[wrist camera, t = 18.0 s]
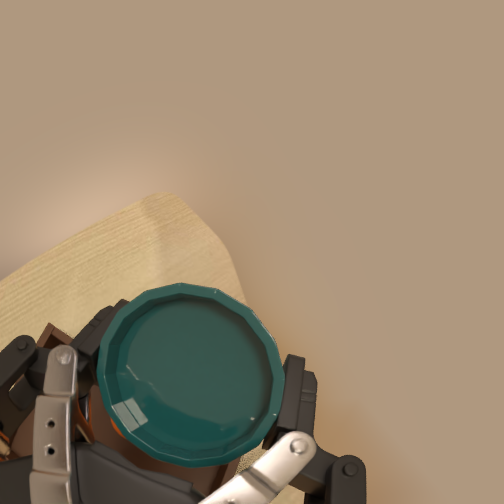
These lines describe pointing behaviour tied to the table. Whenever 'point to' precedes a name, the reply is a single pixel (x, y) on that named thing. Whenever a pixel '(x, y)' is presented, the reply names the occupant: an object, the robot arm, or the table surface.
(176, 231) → the table surface
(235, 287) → the table surface
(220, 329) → the tub
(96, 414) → the tray
